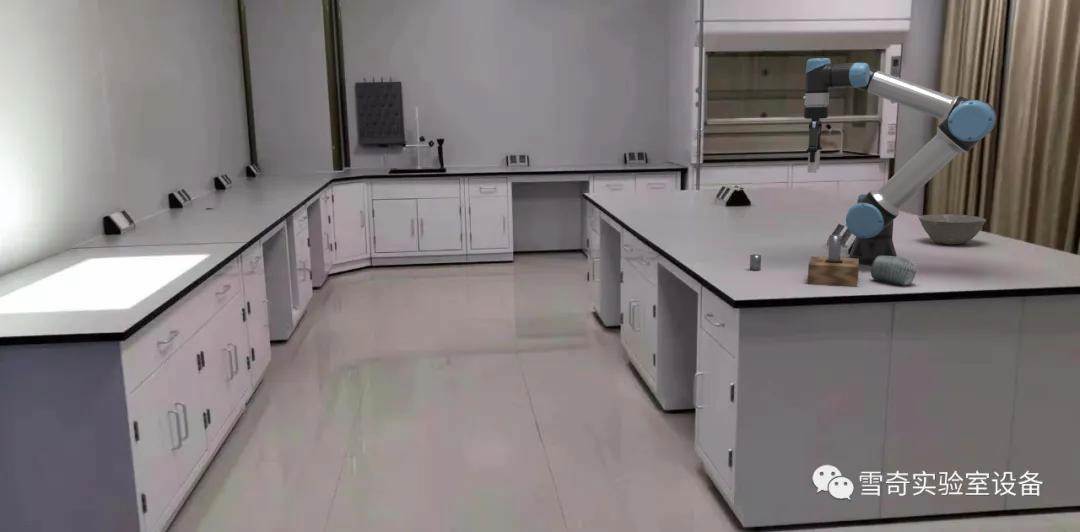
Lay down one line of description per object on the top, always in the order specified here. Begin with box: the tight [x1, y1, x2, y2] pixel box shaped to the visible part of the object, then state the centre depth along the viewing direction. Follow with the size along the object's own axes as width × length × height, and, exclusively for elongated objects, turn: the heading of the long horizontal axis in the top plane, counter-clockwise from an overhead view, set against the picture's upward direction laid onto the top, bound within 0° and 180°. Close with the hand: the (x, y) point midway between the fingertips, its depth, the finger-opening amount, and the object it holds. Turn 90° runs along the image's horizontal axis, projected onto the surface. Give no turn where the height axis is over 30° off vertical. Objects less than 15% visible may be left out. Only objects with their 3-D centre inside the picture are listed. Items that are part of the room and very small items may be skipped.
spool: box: [870, 256, 917, 286], centre depth 248 cm, size 14×10×10 cm
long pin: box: [827, 234, 842, 263], centre depth 252 cm, size 4×4×14 cm
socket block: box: [807, 256, 860, 287], centre depth 252 cm, size 14×14×6 cm
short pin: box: [749, 253, 762, 272], centre depth 271 cm, size 4×4×5 cm
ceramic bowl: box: [918, 213, 987, 245], centre depth 311 cm, size 22×23×10 cm
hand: (813, 170), depth 274 cm, fingers open, 13 cm apart
